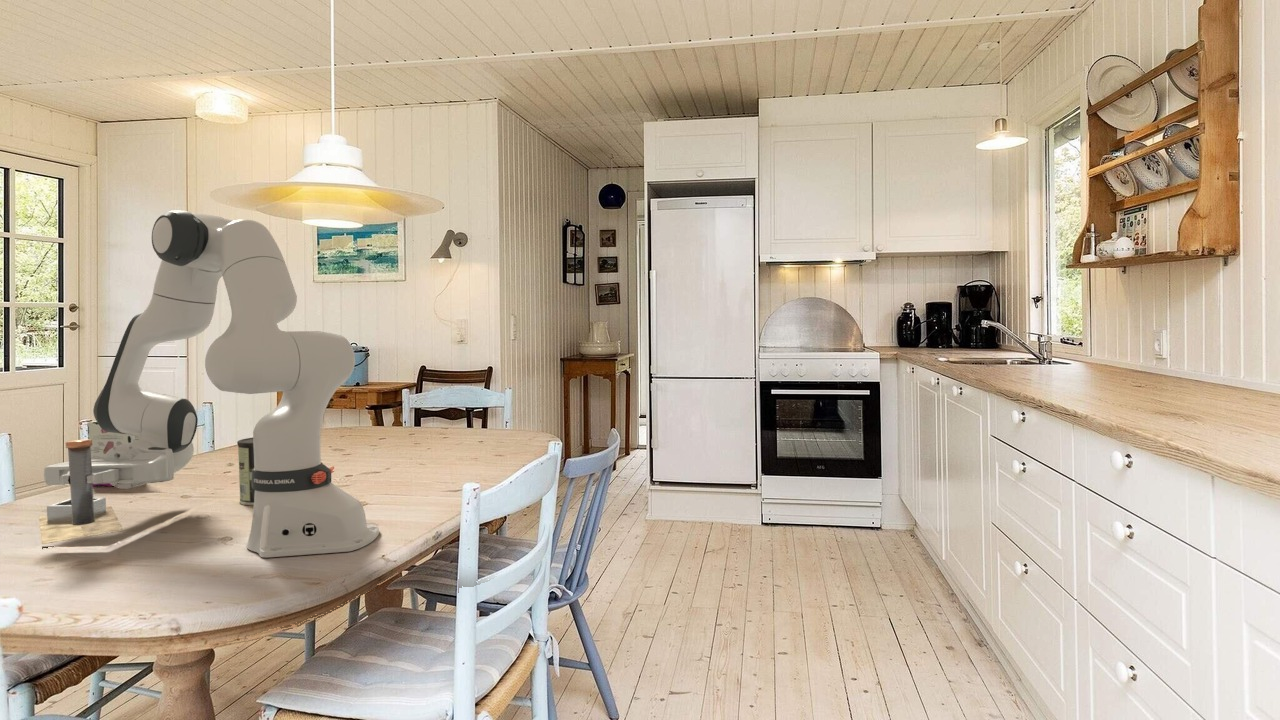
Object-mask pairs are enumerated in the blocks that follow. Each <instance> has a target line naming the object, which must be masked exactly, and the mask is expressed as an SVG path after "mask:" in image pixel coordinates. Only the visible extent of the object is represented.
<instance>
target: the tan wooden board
mask: <svg viewBox="0 0 1280 720" xmlns="http://www.w3.org/2000/svg"><path fill="white" fill-rule="evenodd" d="M38 518H39V519H38V520H39V526H40V527H39V529H40V537H41V544H42V545H43V544H49V543H50V544H51V543H56V542H57V543H58V542H63V541H68V540H69V541H70V540H75V539H81V538H86V537H94V536H100V535H107V534H112V533H114V534H115V533H118V532H124V528H123V527H122V524H121V521H119V518H118V517H117V514H116V513H115V511H114V509H113V507H112V506H106V512H104V513H101V514H99V515H96V516H95V522H93V523H90V524H85V525H73V523H72V521H47V515H43V516H38ZM54 546H55V545H54ZM54 546H53V545H52V546H51V545H50V546H49V545H47V546H41V549H42V550H44V549H43V548H46V549H49V548H48V547H52V548H55V547H54Z"/></svg>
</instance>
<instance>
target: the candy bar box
mask: <svg viewBox="0 0 1280 720" xmlns="http://www.w3.org/2000/svg"><path fill="white" fill-rule="evenodd" d="M86 425H87V439H91V440H92V446H91V460H96V459H103V457H104V455H105V454H106V453H107V452H108V451H109V450H110V449H111V448H113V447H115V446H118V445H122V444H127V443H131V442H135V441H137V440H138V439H139V438H140V437H139V436H134V435H129V434H120V433H112V432H106V431H104V430H103V429H102V428H101V427H100V426H99V424H98V423H97V421H96V420H92V421H88V422H87V424H86ZM93 486H96V487H99V488H100V487H102V486H112V485H111V484H110V483H104V484H93Z"/></svg>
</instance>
